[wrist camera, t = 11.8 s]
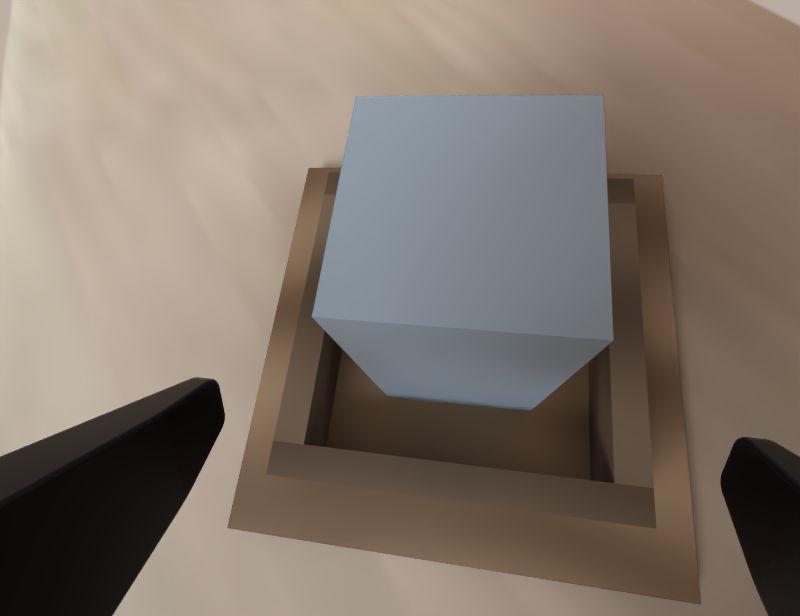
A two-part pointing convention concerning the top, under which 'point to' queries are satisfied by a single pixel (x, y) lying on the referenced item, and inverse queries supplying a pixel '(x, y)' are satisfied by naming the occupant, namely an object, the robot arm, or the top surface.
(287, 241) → the top surface
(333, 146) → the top surface
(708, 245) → the top surface
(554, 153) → the block
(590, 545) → the cradle
